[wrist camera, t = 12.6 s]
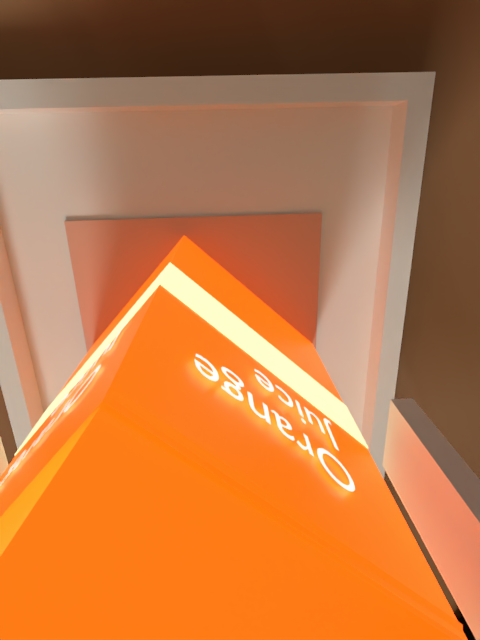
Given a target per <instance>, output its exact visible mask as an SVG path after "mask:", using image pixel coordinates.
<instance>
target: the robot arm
mask: <svg viewBox="0 0 480 640" xmlns="http://www.w3.org/2000/svg"><path fill="white" fill-rule="evenodd" d="M382 466H383V467H384V469H385V471H386V473H387V475H388V477H389V479H390V480H391V482H392V484H393V486H394V488H395V490H396V492H397V493H398V495H399V497H400V499H401V501H402V503H403V505H404V507H405V508H406V510H407V512H408V514H409V516H410V518H411V520H412V521H413V523H414V525H415V527H416V529H417V531H418V533H419V535H420V536H421V538H422V540H423V542H424V544H425V546H426V548H427V549H428V551H429V553H430V555H431V557H432V559H433V561H434V562H435V564H436V566H437V568H438V570H439V572H440V574H441V576H442V577H443V579H444V581H445V583H446V585H447V587H448V589H449V590H450V592H451V594H452V596H453V598H454V600H455V602H456V603H457V605H458V607H459V609H460V611H461V613H462V615H463V617H464V618H465V620H466V622H467V624H468V626H469V628H470V630H471V631H472V633H473V635H474V637H475V639H476V640H480V479H479V478H478V477H477V476H476V475H475V473H474V472H473V471H472V470H471V469H470V467H469V466H468V465H467V464H466V462H465V461H464V460H463V459H462V458H461V456H460V455H459V454H458V453H457V451H456V450H455V449H454V448H453V447H452V445H451V444H450V443H449V442H448V440H447V439H446V438H445V437H444V436H443V434H442V433H441V432H440V431H439V430H438V428H437V427H436V426H435V425H434V423H433V422H432V421H431V420H430V419H429V417H428V416H427V415H426V414H425V412H424V411H423V410H422V409H421V408H420V406H419V405H418V404H417V403H416V402H415V400H414V399H413V398H409V399H391V400H390V408H389V416H388V424H387V432H386V440H385V448H384V456H383V464H382ZM7 467H8V462H7V458H6V455H5V451H4V448H3V444H2V441H1V437H0V477H1V476H2V474H3V473H4V471H5V470H6V469H7Z"/></svg>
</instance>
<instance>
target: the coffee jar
mask: <svg viewBox="0 0 480 640" xmlns="http://www.w3.org/2000/svg"><path fill="white" fill-rule="evenodd" d="M458 622H460V623H461V624H463V632H464V634H465V636H466V637H467V639H468V640H476V639H475V637H474V635H473V633H472V631H471V630H470V628H469V626H468V624H467V622H466V620H465V618H464V617H462V618H461V619H460V620H458Z"/></svg>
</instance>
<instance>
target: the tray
mask: <svg viewBox="0 0 480 640" xmlns="http://www.w3.org/2000/svg"><path fill="white" fill-rule="evenodd" d="M435 73H436V72H391V73H337V74H282V75H228V76H174V77H120V78H65V79H11V80H0V385H1V389H2V392H3V396H4V400H5V404H6V407H7V411H8V415H9V419H10V422H11V426H12V430H13V434H14V437H15V441H16V445H17V449H19V448H20V446H21V445H22V443H23V442H24V440H25V439H26V438H27V436H28V435H29V433H30V432H31V431H32V429H33V428H34V426H35V425H36V423H37V422H38V421H39V419H40V418H41V416H42V415H43V414H44V412H45V411H46V409H47V408H48V407H49V406H50V405H51V403H52V402H53V401H54V400H55V399H56V397H57V396H58V394H59V393H60V391H61V390H62V389H63V387H64V386H65V384H66V383H67V381H68V380H69V379H70V377H71V376H72V374H73V373H74V371H75V370H76V369H77V367H78V366H79V364H80V363H81V361H82V360H83V359H84V357H85V356H86V354H87V353H88V351H89V350H90V349H91V347H92V346H93V344H94V343H95V342H96V341H97V340H98V338H99V337H100V336H101V335H102V334H103V332H104V331H105V330H106V329H107V328H108V326H109V325H110V324H111V323H112V322H113V320H114V319H115V318H116V317H117V315H118V314H119V313H120V312H121V311H122V309H123V308H124V307H125V306H126V305H127V303H128V302H129V301H130V300H131V299H132V297H133V296H134V295H135V294H136V293H137V291H138V290H139V289H140V288H141V287H142V285H143V284H144V283H145V282H146V281H147V279H148V278H149V277H150V276H151V275H152V273H153V272H154V271H155V270H156V269H157V267H158V266H159V265H160V264H161V263H162V261H163V260H164V259H165V258H166V257H167V255H168V254H169V253H170V252H171V250H172V249H173V248H174V247H175V246H176V244H177V243H178V242H179V241H180V240H181V238H182V237H183V236H184V235H185V236H186V237H187V238H188V239H189V240H191V241H192V242H193V243H194V244H195V245H197V246H198V247H199V248H200V249H201V250H202V251H204V252H205V253H206V254H207V255H208V256H210V257H211V258H212V259H213V260H214V261H215V262H217V263H218V264H219V265H220V266H221V267H223V268H224V269H225V270H226V271H227V272H228V273H230V274H231V275H232V276H233V277H234V278H235V279H237V280H238V281H239V282H240V283H241V284H243V285H244V286H245V287H246V288H247V289H248V290H250V291H251V292H252V293H253V294H254V295H256V296H257V297H258V298H259V299H260V300H261V301H263V302H264V303H265V304H266V305H267V306H269V307H270V308H271V309H272V310H273V311H274V312H276V313H277V314H278V315H279V316H280V317H282V318H283V319H284V320H285V321H286V322H287V323H289V324H290V325H291V326H292V327H293V328H295V329H296V330H297V331H298V332H299V333H300V334H302V335H303V336H304V337H305V338H306V339H307V340H309V341H310V342H311V343H312V344H313V346H314V348H315V350H316V352H317V354H318V355H319V357H320V359H321V361H322V363H323V365H324V367H325V369H326V371H327V373H328V375H329V376H330V378H331V380H332V382H333V384H334V386H335V388H336V390H337V392H338V394H339V396H340V397H341V399H342V401H343V403H344V404H345V405H346V406H347V408H348V410H349V412H350V414H351V416H352V417H353V419H354V421H355V423H356V425H357V427H358V429H359V431H360V433H361V434H362V436H363V438H364V440H365V442H366V444H367V446H368V451H369V453H370V455H371V456H372V458H373V460H374V462H375V464H376V466H377V468H378V470H379V472H380V474H381V476H382V477H383V479H384V474H385V469H384V467H383V466H382V464H383V456H384V448H385V440H386V432H387V424H388V416H389V408H390V400H391V399H394V396H395V388H396V380H397V372H398V364H399V356H400V349H401V341H402V333H403V325H404V317H405V309H406V301H407V293H408V286H409V278H410V270H411V262H412V254H413V246H414V238H415V231H416V223H417V215H418V207H419V199H420V191H421V183H422V175H423V168H424V160H425V152H426V144H427V136H428V128H429V120H430V113H431V105H432V97H433V89H434V81H435Z"/></svg>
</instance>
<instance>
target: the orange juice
mask: <svg viewBox="0 0 480 640" xmlns="http://www.w3.org/2000/svg"><path fill="white" fill-rule="evenodd" d="M15 455H16V456H15V457H14V459H13V460H12V461H11V463H10V464H9V466H8V467H7V469H6V470H5V471H4V473H3V474H2V476H1V477H0V640H468V639H467V637H466V636H465V634H464V632H463V624H461V623H460V622H458V620H457V618H456V617H455V615H454V613H453V611H452V609H451V607H450V605H449V603H448V601H447V599H446V597H445V596H444V594H443V592H442V590H441V588H440V586H439V584H438V582H437V580H436V578H435V576H434V575H433V573H432V571H431V569H430V567H429V565H428V563H427V561H426V559H425V557H424V556H423V554H422V552H421V550H420V548H419V546H418V544H417V542H416V540H415V538H414V536H413V535H412V533H411V531H410V529H409V527H408V525H407V523H406V521H405V519H404V517H403V516H402V514H401V512H400V510H399V508H398V506H397V504H396V502H395V500H394V498H393V496H392V495H391V493H390V491H389V489H388V487H387V485H386V483H385V481H384V479H383V477H382V476H381V474H380V472H379V470H378V468H377V466H376V464H375V462H374V460H373V458H372V456H371V455H370V453H369V451H368V446H367V444H366V442H365V440H364V438H363V436H362V434H361V433H360V431H359V429H358V427H357V425H356V423H355V421H354V419H353V417H352V416H351V414H350V412H349V410H348V408H347V406H346V405H345V404H344V403H343V401H342V399H341V397H340V396H339V394H338V392H337V390H336V388H335V386H334V384H333V382H332V380H331V378H330V376H329V375H328V373H327V371H326V369H325V367H324V365H323V363H322V361H321V359H320V357H319V355H318V354H317V352H316V350H315V348H314V346H313V344H312V343H311V342H310V341H309V340H307V339H306V338H305V337H304V336H303V335H302V334H300V333H299V332H298V331H297V330H296V329H295V328H293V327H292V326H291V325H290V324H289V323H287V322H286V321H285V320H284V319H283V318H282V317H280V316H279V315H278V314H277V313H276V312H274V311H273V310H272V309H271V308H270V307H269V306H267V305H266V304H265V303H264V302H263V301H261V300H260V299H259V298H258V297H257V296H256V295H254V294H253V293H252V292H251V291H250V290H248V289H247V288H246V287H245V286H244V285H243V284H241V283H240V282H239V281H238V280H237V279H235V278H234V277H233V276H232V275H231V274H230V273H228V272H227V271H226V270H225V269H224V268H223V267H221V266H220V265H219V264H218V263H217V262H215V261H214V260H213V259H212V258H211V257H210V256H208V255H207V254H206V253H205V252H204V251H202V250H201V249H200V248H199V247H198V246H197V245H195V244H194V243H193V242H192V241H191V240H189V239H188V238H187V237H186V236H185V235H184V236H183V237H182V238H181V240H180V241H179V242H178V243H177V244H176V246H175V247H174V248H173V249H172V250H171V252H170V253H169V254H168V255H167V257H166V258H165V259H164V260H163V261H162V263H161V264H160V265H159V266H158V267H157V269H156V270H155V271H154V272H153V273H152V275H151V276H150V277H149V278H148V279H147V281H146V282H145V283H144V284H143V285H142V287H141V288H140V289H139V290H138V291H137V293H136V294H135V295H134V296H133V297H132V299H131V300H130V301H129V302H128V303H127V305H126V306H125V307H124V308H123V309H122V311H121V312H120V313H119V314H118V315H117V317H116V318H115V319H114V320H113V322H112V323H111V324H110V325H109V326H108V328H107V329H106V330H105V331H104V332H103V334H102V335H101V336H100V337H99V338H98V340H97V341H96V342H95V343H94V344H93V346H92V347H91V349H90V350H89V351H88V353H87V354H86V356H85V357H84V359H83V360H82V361H81V363H80V364H79V366H78V367H77V369H76V370H75V371H74V373H73V374H72V376H71V377H70V379H69V380H68V381H67V383H66V384H65V386H64V387H63V389H62V390H61V391H60V393H59V394H58V396H57V397H56V399H55V400H54V401H53V402H52V403H51V405H50V406H49V407H48V408H47V409H46V411H45V412H44V414H43V415H42V416H41V418H40V419H39V421H38V422H37V423H36V425H35V426H34V428H33V429H32V431H31V432H30V433H29V435H28V436H27V438H26V439H25V440H24V442H23V443H22V445H21V446H20V448H19V449H18V450H17V452H16V453H15Z"/></svg>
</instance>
